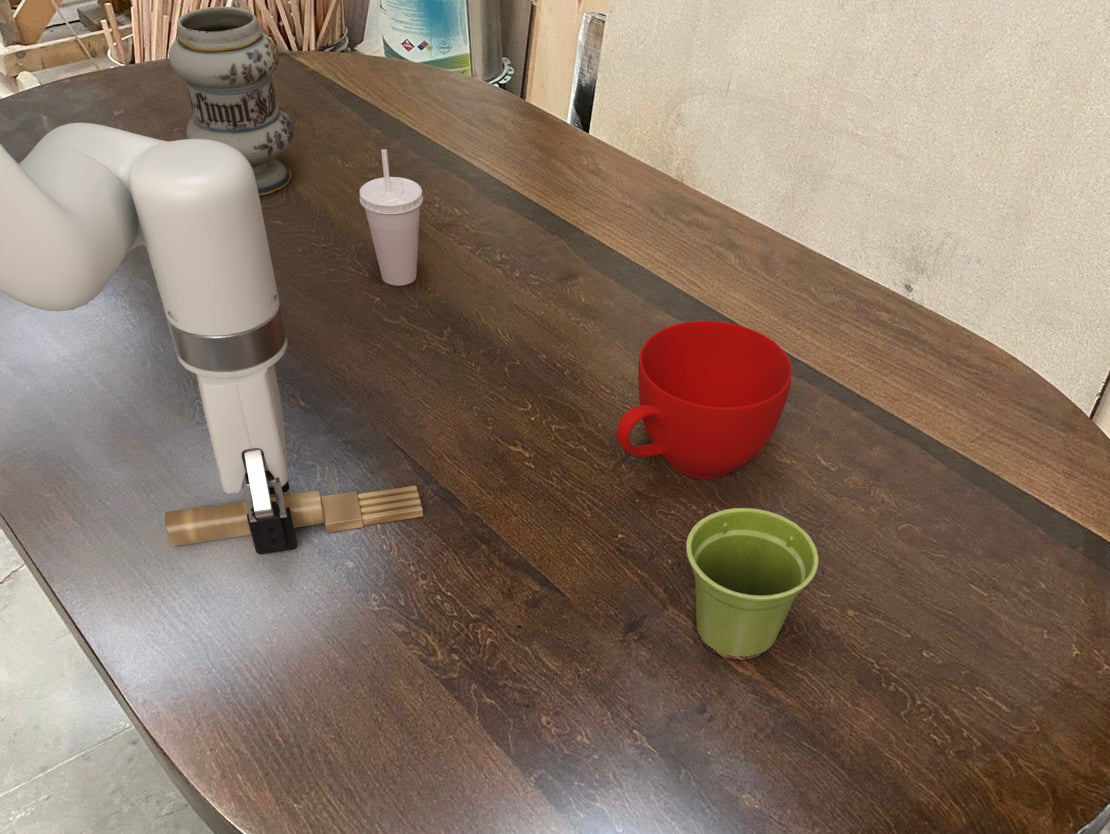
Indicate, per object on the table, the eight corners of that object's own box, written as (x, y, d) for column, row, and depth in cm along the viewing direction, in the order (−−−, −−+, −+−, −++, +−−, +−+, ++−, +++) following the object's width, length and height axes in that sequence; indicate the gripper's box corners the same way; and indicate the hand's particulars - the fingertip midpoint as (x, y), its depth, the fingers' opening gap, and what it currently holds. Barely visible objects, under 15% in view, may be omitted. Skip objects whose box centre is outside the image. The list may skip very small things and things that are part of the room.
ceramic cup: (567, 462, 95) (570, 368, 88) (704, 395, 103) (717, 304, 96) (665, 542, 89) (677, 448, 82) (803, 464, 97) (825, 371, 89)
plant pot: (668, 588, 85) (679, 507, 79) (784, 586, 86) (804, 506, 80) (682, 680, 79) (695, 599, 72) (807, 677, 80) (831, 597, 73)
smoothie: (358, 285, 114) (342, 155, 104) (384, 257, 118) (371, 129, 108) (414, 297, 113) (402, 167, 103) (438, 268, 117) (429, 140, 107)
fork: (173, 557, 85) (164, 531, 83) (172, 527, 87) (164, 501, 85) (423, 518, 89) (421, 493, 87) (416, 490, 92) (414, 465, 90)
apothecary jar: (214, 153, 133) (179, -5, 120) (310, 159, 133) (286, 2, 120) (184, 199, 125) (144, 34, 112) (287, 205, 125) (258, 41, 112)
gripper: (169, 272, 79) (221, 461, 92) (174, 410, 68) (232, 603, 81) (273, 262, 81) (309, 448, 94) (295, 395, 70) (332, 586, 83)
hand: (273, 518), depth 87 cm, fingers open, 6 cm apart
